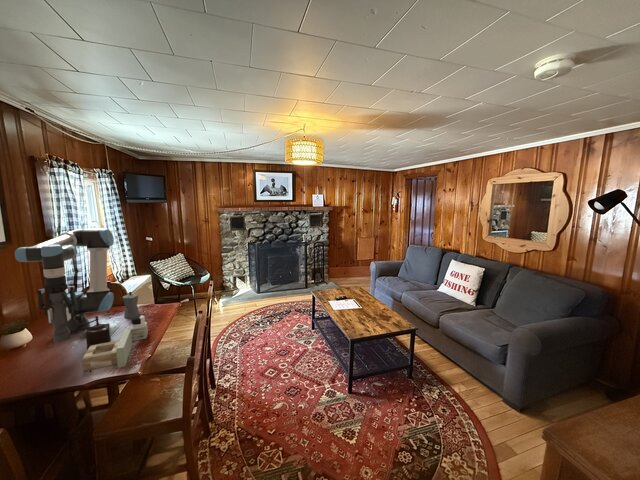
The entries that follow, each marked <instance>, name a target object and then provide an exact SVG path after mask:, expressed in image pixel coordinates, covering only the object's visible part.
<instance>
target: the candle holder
mask: <svg viewBox="0 0 640 480" xmlns="http://www.w3.org/2000/svg"><path fill="white" fill-rule="evenodd" d="M65 292H66V290H65V291H64V292H63V294H65ZM49 298H50V300H51V305H50V307H52V308H53V309H52V311H53V320H52V322H51V325H52V326H53V327H54V330H53V335H52V338H53V342H54V343H61V342H64V341H68V340H70V339H71V336H72V334H70V331H69V328H68V327H67V324H68V321H69V320H68V321H67V315H66V313H65V311H64V304H65V302H64V300H63V298H64V297H63V296H62V292H56V293H50V297H49Z"/></svg>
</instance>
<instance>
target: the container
mask: <svg viewBox="0 0 640 480" xmlns="http://www.w3.org/2000/svg"><path fill="white" fill-rule="evenodd" d="M145 318H146V317H145V315H141V314H139V316H135V317H133V318H131V326H130V328H129V329H131V338H132V342H134V341H139V340H145V339H147V338H148V331H149V330H148V322H147V321H146V319H145Z"/></svg>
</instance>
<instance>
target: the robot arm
mask: <svg viewBox="0 0 640 480" xmlns="http://www.w3.org/2000/svg"><path fill="white" fill-rule="evenodd" d="M114 242H115V238H114V234H113V233H112V231H111V230H110V229H109V228H102V227H101V228H100V227H99V228H97V227H94V228H77V229H72V230H69V231H65V232H62V233H60V234H59V235H58V236H57V237H53V238H52V239H49V240H46V241H44V242H40V243H37V244H35V245H32V246H21V247H18V248H17V249H16V250H15V251H14V257H15V260H16V261H17V262H20V263H33V262H34V263H35V262H37V263H38V262H41V263H42V270H43V277H44V287H43V288H39V289H37V291H36V293H37V295H38V310H39V311H41V310H43V311H44V314H45V317H48V323H49V324H52V320H53V315H54V313H53V309H52V308H53V307H52V308H51V304H52V302H51V300H50V298H49V297H50V293H56V292H62V296H63V297H64V298H63V300H64V302H65V304H64V311H65V313H66V315H67V321H68V320H69V321H68V324H67V327H68V328H69V331H70V335H72V334H73V335H74V334H77V333H79V332H83V331H86V330H87V328H88V327H91V323H89V324H85V325H80V323H77V321H76V320H74V317H75V316H76V315H82V320H83V322H82V323H87V322H90V321H89V318H88V317H87V316H86V313H97V312H100V313H101V312H105V311H106V312H107V311H108V310H110V309H111V307H112V306H113V304H114V299H115V298H114V297H115V296H114V293H113V292H110V290H111V289H110V288H109V287H108V251H109V250H110V248H111V247H112V246H113V245H114V244H115V243H114ZM76 247H77V248H78V247H86V249H87V250H88V251H89V289H88V290H86V294H84V292H83V291H76V290H75V288H76V286H75V285H69V284H67V276H66V269H65V268H66V266H65V261H68V260H72V259H74V258H75V257H76V256H77V255H78V250H77V248H76ZM66 290H68V292H69V293H68V294H67V291H66ZM64 291H65V294H63V292H64ZM46 292H47V293H48V295H47V300H46V302H45V293H46Z"/></svg>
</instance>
